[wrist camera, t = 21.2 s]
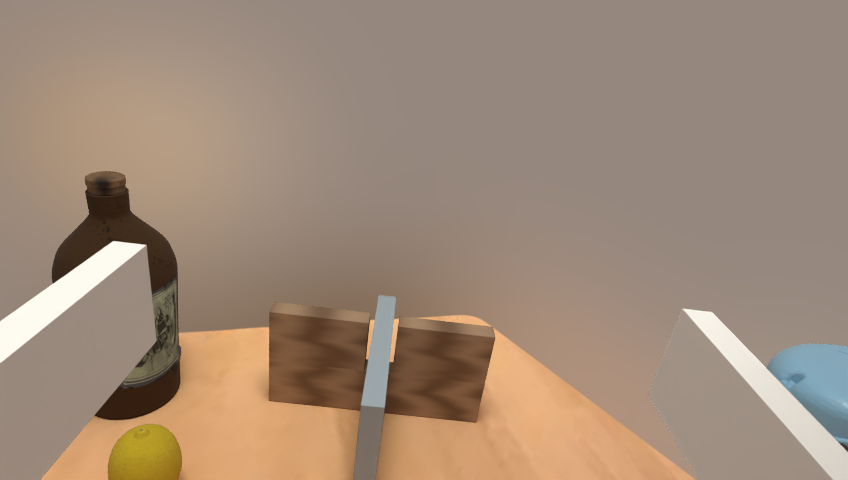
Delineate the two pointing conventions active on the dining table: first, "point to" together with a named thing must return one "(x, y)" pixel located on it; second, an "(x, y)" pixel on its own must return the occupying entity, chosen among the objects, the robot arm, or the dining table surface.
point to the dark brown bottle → (161, 363)
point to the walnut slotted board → (346, 362)
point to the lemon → (145, 455)
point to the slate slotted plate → (374, 392)
